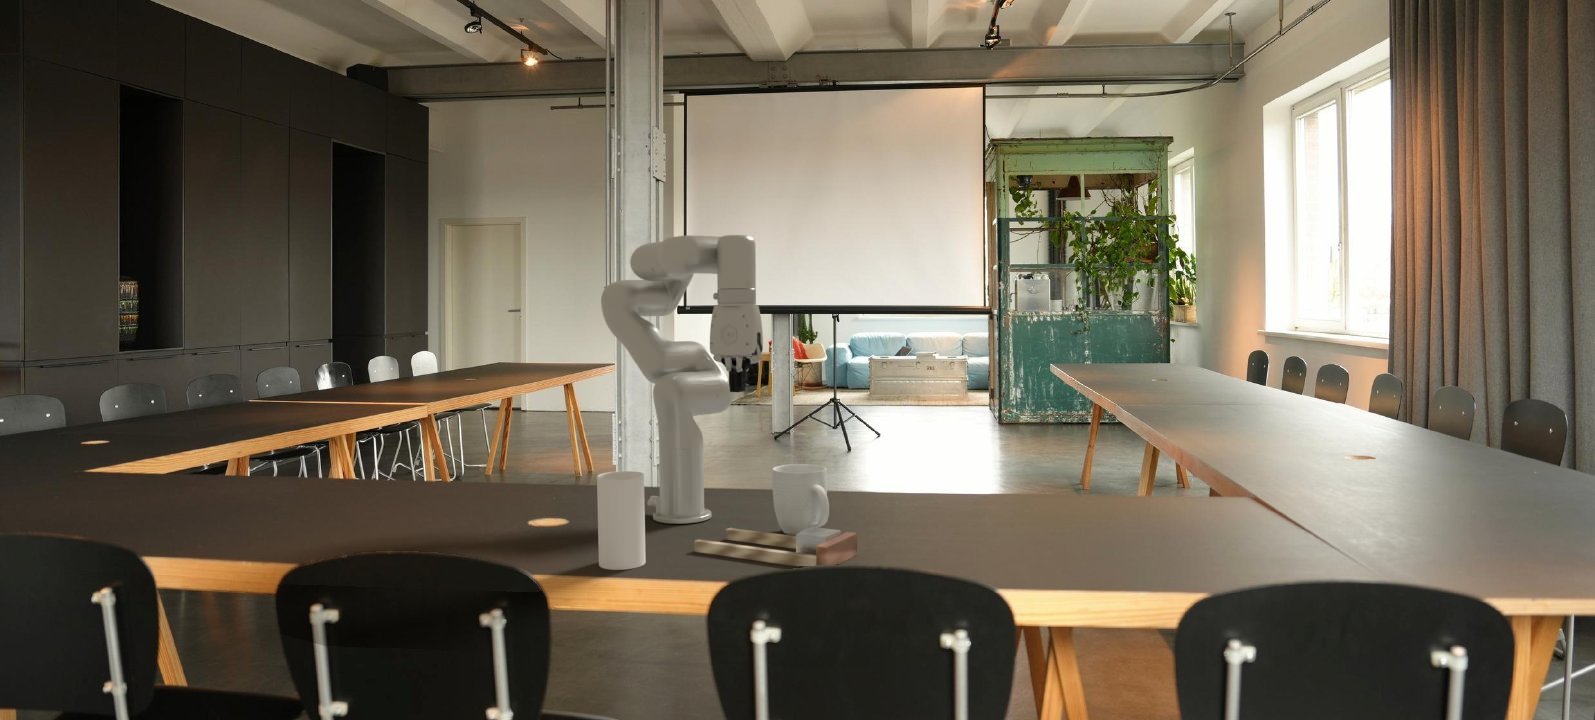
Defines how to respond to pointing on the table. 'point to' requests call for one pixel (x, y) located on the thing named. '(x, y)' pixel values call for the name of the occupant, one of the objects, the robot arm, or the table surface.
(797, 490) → the mug
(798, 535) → the block
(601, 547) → the cup
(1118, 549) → the table surface
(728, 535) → the u-shaped frame
